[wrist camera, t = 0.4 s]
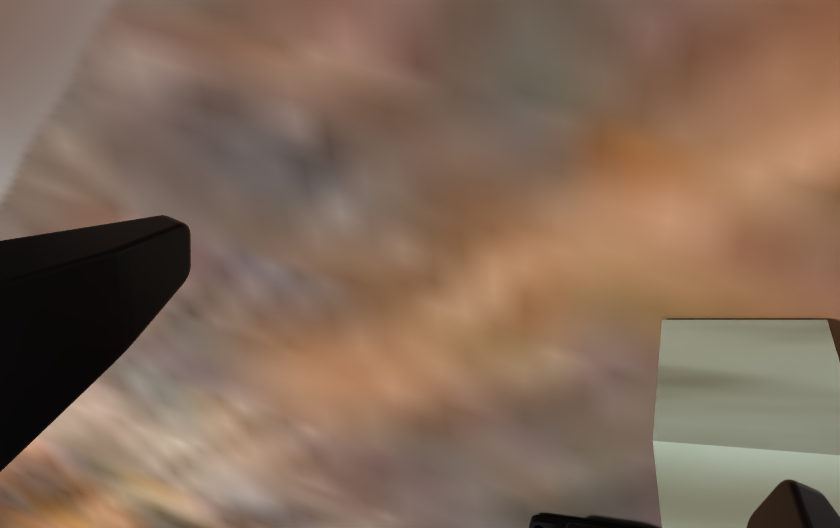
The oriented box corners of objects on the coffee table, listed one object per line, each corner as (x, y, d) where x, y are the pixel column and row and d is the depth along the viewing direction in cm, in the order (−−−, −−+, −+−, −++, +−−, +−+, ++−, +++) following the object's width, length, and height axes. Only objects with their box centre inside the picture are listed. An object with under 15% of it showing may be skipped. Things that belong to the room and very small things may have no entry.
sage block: (821, 435, 22) (855, 587, 17) (671, 424, 24) (665, 558, 20) (827, 319, 20) (867, 457, 15) (662, 319, 22) (652, 440, 17)
